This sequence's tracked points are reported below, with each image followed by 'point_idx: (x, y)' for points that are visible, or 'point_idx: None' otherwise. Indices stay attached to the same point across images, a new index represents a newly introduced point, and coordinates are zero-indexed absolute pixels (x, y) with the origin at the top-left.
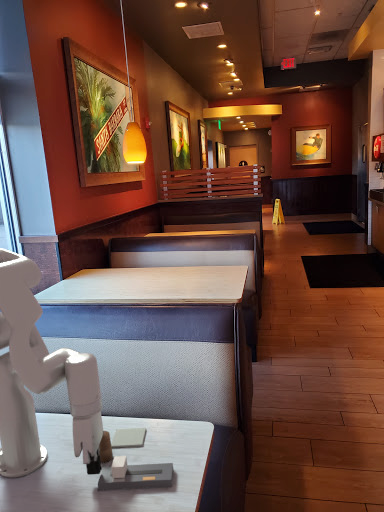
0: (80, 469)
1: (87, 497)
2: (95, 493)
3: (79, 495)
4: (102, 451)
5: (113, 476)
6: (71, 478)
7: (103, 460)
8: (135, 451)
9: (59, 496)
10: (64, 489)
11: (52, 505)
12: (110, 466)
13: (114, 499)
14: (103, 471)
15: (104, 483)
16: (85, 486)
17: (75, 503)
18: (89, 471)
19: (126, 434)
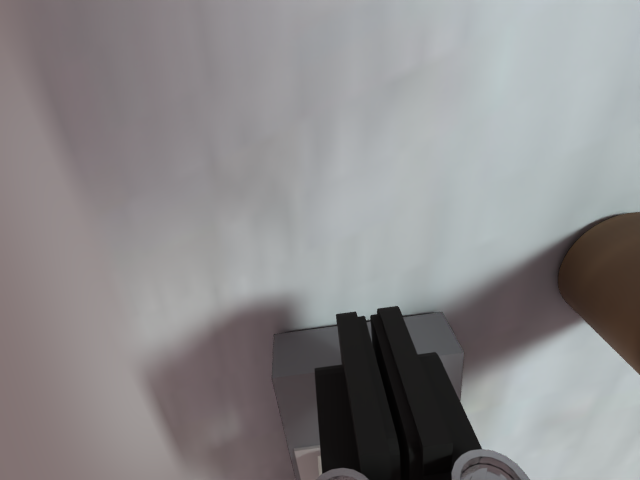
0: (532, 98)
1: (209, 283)
2: (254, 318)
3: (218, 222)
4: (637, 347)
5: (320, 473)
6: (415, 58)
7: (574, 287)
8: (629, 404)
9: (172, 43)
10: (267, 53)
11: (47, 25)
12: (457, 394)
13: (223, 422)
14: None
15: (280, 411)
16: (316, 228)
17: (134, 226)
18: (316, 376)
19: None
